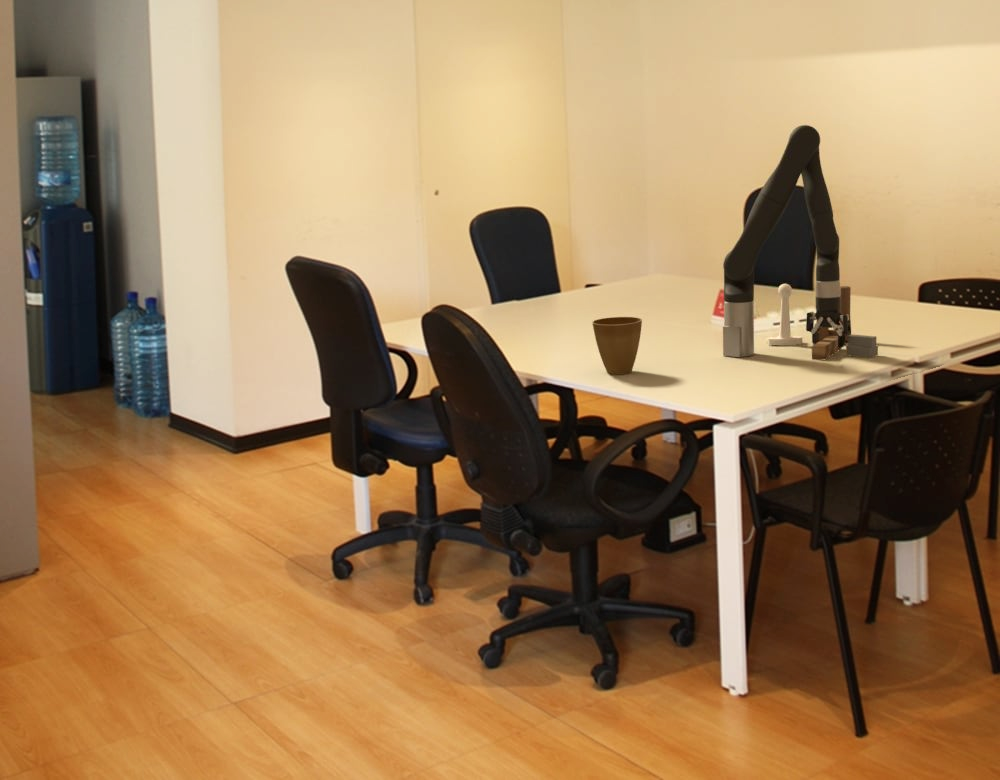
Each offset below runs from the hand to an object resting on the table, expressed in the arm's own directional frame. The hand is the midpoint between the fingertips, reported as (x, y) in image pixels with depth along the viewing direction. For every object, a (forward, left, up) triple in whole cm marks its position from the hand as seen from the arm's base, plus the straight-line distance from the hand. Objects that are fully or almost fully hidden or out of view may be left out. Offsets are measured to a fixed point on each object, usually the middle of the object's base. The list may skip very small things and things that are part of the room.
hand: (828, 346), depth 389 cm
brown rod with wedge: (+20, +9, -3) cm, 22 cm away
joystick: (+9, +21, -3) cm, 23 cm away
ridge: (+3, -10, -3) cm, 10 cm away
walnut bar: (0, 0, -3) cm, 3 cm away
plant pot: (-55, +39, -3) cm, 68 cm away
